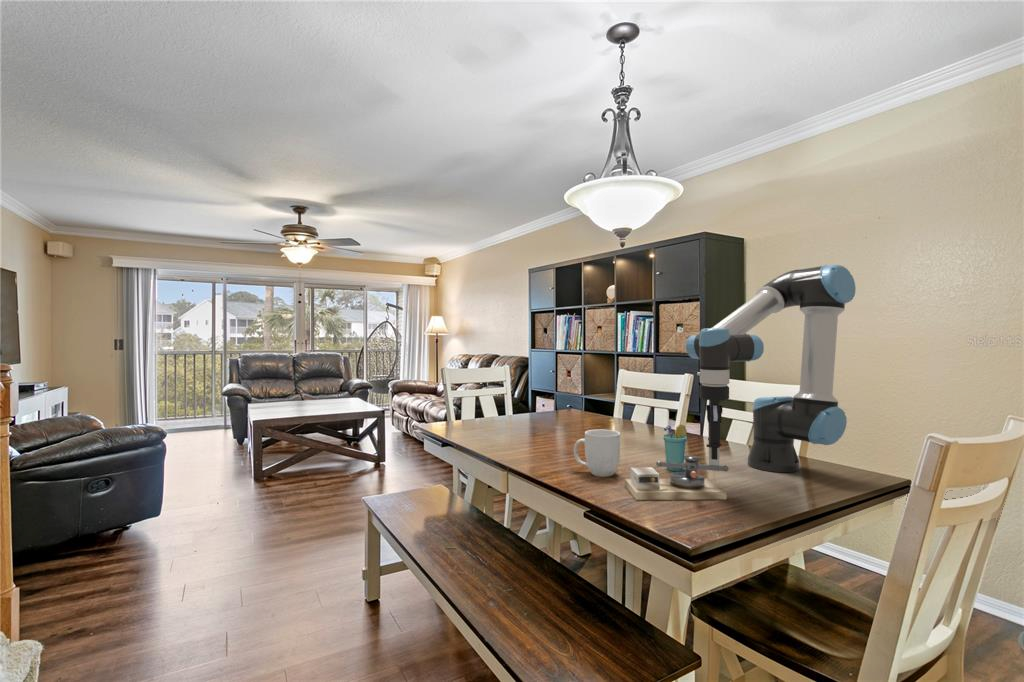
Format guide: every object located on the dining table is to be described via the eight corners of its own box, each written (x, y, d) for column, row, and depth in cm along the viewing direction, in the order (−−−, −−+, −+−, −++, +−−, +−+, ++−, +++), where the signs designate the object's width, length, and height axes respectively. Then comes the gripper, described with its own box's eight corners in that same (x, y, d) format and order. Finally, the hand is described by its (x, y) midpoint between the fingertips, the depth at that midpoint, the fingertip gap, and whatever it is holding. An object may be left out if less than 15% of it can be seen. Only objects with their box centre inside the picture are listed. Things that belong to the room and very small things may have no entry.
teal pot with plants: (677, 476, 149) (677, 427, 149) (653, 472, 154) (653, 425, 154) (693, 467, 160) (693, 421, 160) (670, 463, 165) (670, 419, 165)
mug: (568, 474, 152) (567, 433, 152) (579, 466, 162) (579, 427, 161) (615, 481, 145) (615, 437, 145) (624, 471, 155) (624, 430, 155)
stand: (707, 485, 140) (707, 464, 140) (726, 499, 128) (726, 476, 128) (625, 486, 140) (624, 465, 140) (636, 499, 128) (636, 477, 128)
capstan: (723, 477, 140) (723, 451, 140) (734, 497, 122) (734, 468, 122) (656, 472, 146) (656, 447, 146) (656, 491, 128) (656, 463, 128)
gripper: (698, 381, 140) (698, 462, 141) (700, 387, 128) (700, 475, 129) (727, 382, 137) (726, 464, 138) (731, 388, 125) (731, 478, 126)
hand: (713, 470), depth 133 cm, fingers closed
